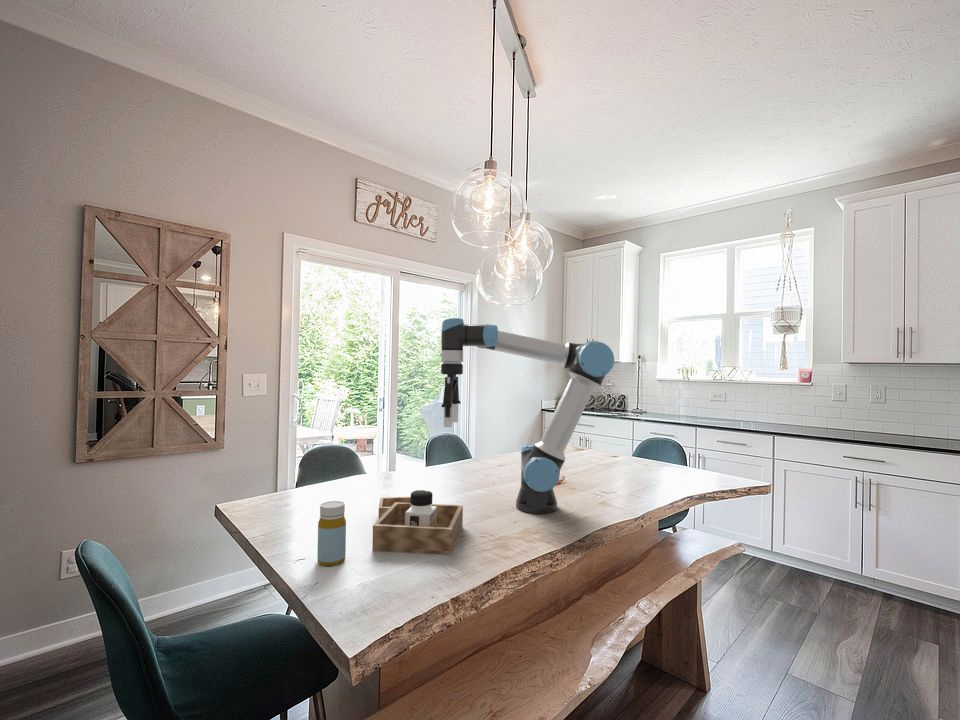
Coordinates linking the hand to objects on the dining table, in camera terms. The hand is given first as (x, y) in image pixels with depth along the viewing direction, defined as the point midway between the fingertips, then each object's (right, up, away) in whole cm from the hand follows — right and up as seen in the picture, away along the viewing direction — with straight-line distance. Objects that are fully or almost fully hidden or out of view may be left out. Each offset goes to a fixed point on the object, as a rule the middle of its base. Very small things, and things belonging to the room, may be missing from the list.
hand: (451, 424), depth 160 cm
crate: (-8, -31, -20) cm, 38 cm away
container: (-8, -31, -20) cm, 37 cm away
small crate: (-18, -31, -4) cm, 36 cm away
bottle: (-29, -31, -38) cm, 57 cm away
